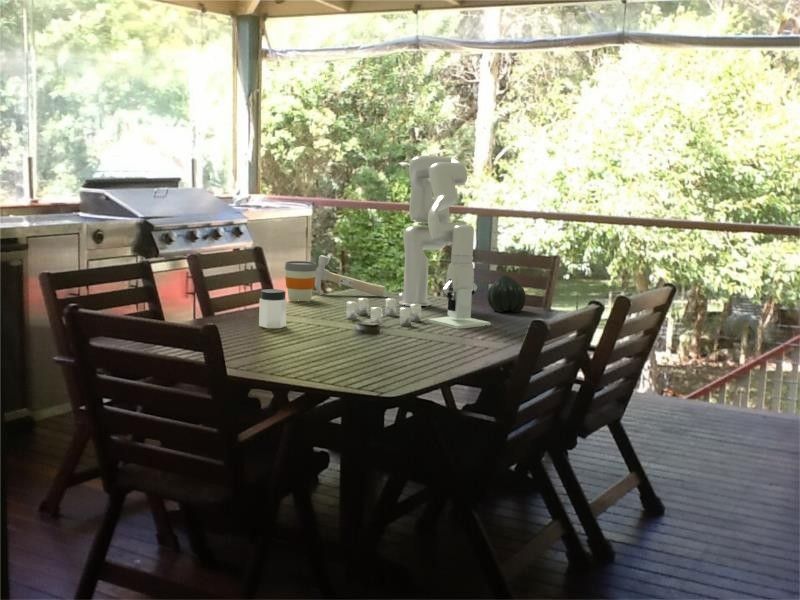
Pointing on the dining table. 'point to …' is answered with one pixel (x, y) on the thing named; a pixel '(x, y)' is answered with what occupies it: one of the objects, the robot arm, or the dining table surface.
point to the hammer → (343, 280)
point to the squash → (506, 295)
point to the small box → (462, 304)
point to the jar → (272, 308)
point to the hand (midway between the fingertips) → (459, 309)
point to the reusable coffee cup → (300, 280)
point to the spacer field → (390, 310)
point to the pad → (458, 322)
